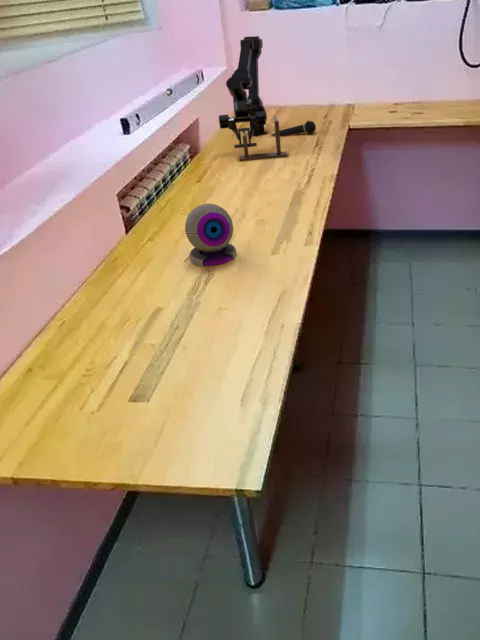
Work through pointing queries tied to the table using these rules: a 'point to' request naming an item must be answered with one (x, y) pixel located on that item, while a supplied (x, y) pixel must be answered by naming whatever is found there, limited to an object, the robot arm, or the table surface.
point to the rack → (264, 155)
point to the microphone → (299, 129)
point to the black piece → (248, 138)
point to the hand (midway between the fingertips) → (244, 139)
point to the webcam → (210, 235)
